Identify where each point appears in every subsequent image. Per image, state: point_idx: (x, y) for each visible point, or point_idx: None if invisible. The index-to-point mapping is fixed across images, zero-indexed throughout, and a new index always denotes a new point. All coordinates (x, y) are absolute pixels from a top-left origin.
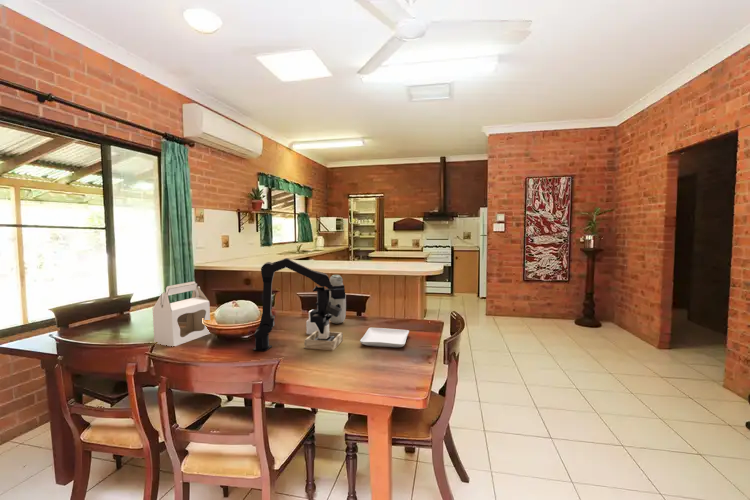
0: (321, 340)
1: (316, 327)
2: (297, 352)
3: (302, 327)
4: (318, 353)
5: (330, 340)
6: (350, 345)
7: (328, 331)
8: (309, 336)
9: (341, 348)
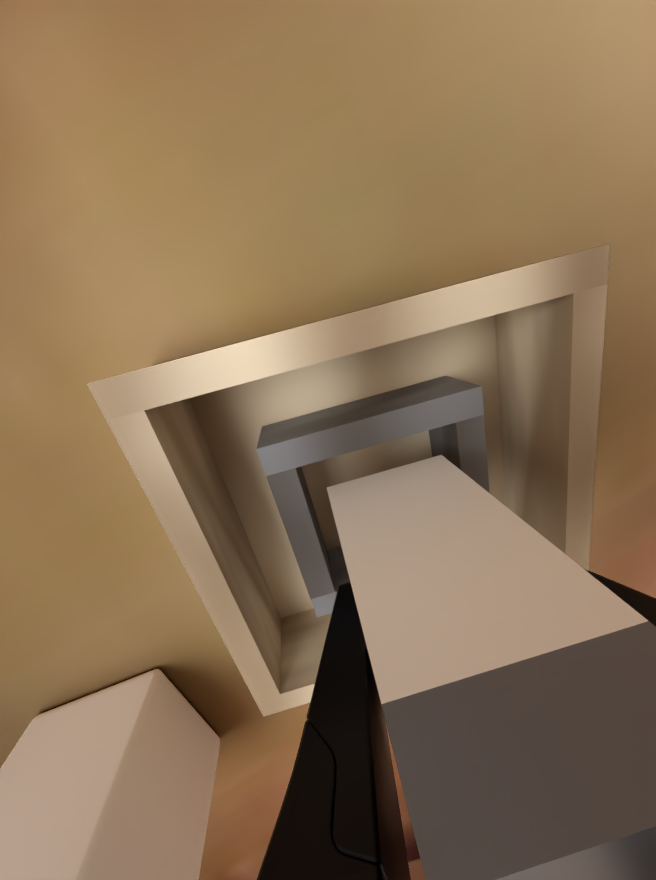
0: (570, 455)
1: (147, 778)
2: (611, 542)
3: None
4: (614, 375)
5: (420, 400)
6: (268, 127)
7: (387, 526)
8: None
9: (423, 204)
